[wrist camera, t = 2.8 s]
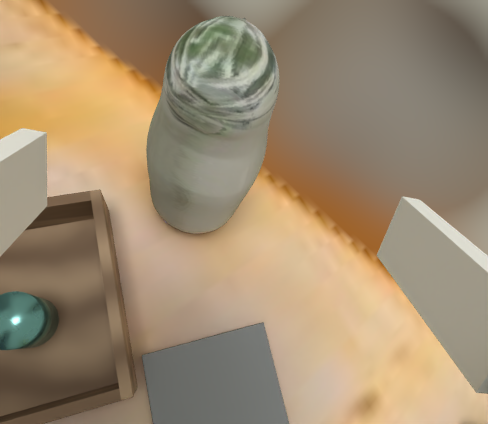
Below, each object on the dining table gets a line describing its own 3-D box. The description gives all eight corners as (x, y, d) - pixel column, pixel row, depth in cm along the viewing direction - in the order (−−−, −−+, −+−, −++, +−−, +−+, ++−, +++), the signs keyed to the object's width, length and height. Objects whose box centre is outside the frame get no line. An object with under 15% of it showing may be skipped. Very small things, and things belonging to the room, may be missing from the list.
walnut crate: (-25, 232, 41) (-60, 213, 35) (108, 210, 45) (100, 189, 38) (-13, 430, 36) (-51, 451, 29) (137, 387, 40) (132, 396, 33)
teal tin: (3, 303, 39) (-23, 298, 33) (56, 292, 40) (39, 285, 34) (7, 353, 37) (-20, 357, 32) (61, 340, 39) (45, 341, 33)
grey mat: (142, 355, 41) (141, 355, 40) (262, 322, 44) (263, 322, 44) (166, 501, 37) (166, 503, 37) (294, 452, 41) (296, 453, 40)
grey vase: (162, 160, 48) (164, -46, 22) (238, 179, 50) (324, 7, 24) (141, 232, 45) (116, 89, 19) (224, 250, 46) (307, 141, 20)
